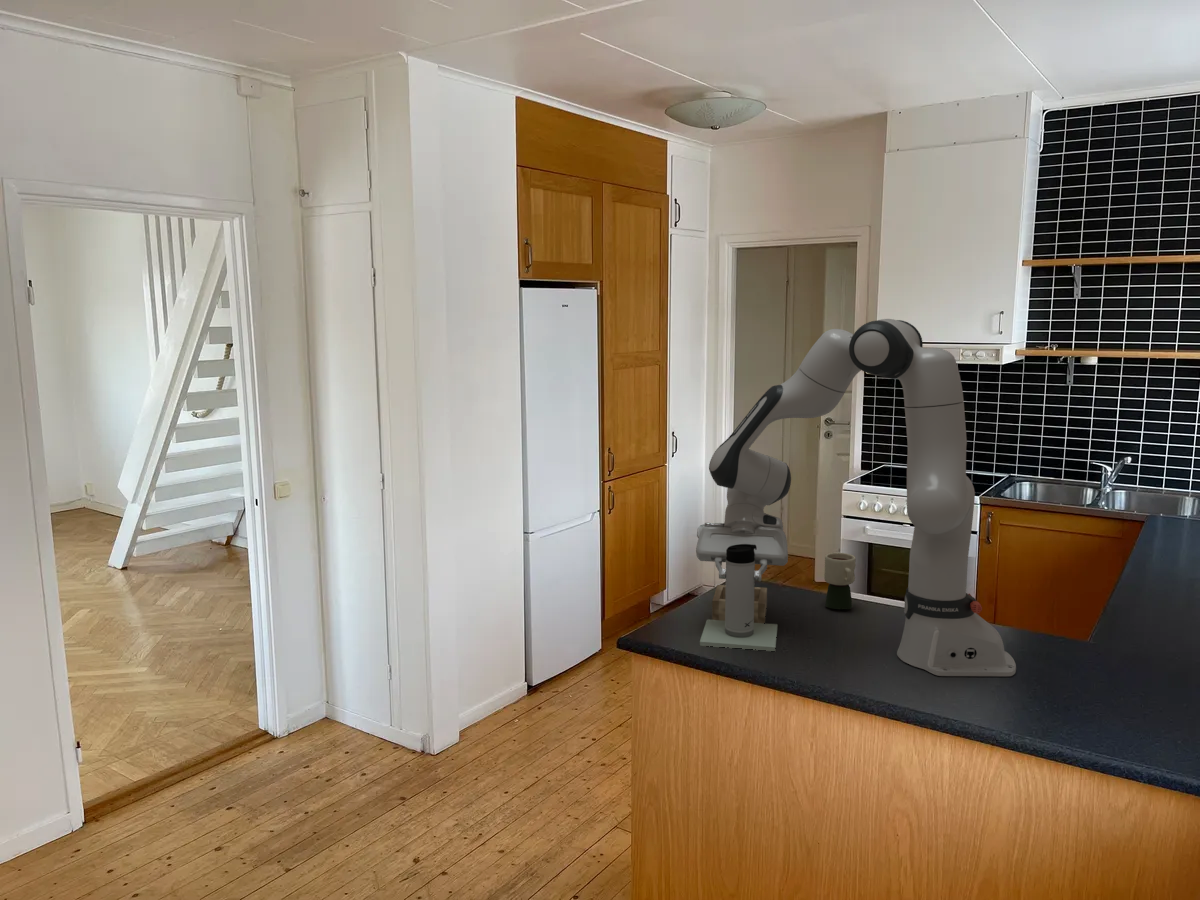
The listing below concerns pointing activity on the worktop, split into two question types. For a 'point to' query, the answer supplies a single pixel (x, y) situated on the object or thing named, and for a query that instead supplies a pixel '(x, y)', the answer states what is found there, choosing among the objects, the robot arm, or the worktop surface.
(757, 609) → the birch holder
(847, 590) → the character mug
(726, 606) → the travel mug
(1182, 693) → the worktop surface
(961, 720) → the worktop surface
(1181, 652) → the worktop surface
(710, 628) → the sage mat
